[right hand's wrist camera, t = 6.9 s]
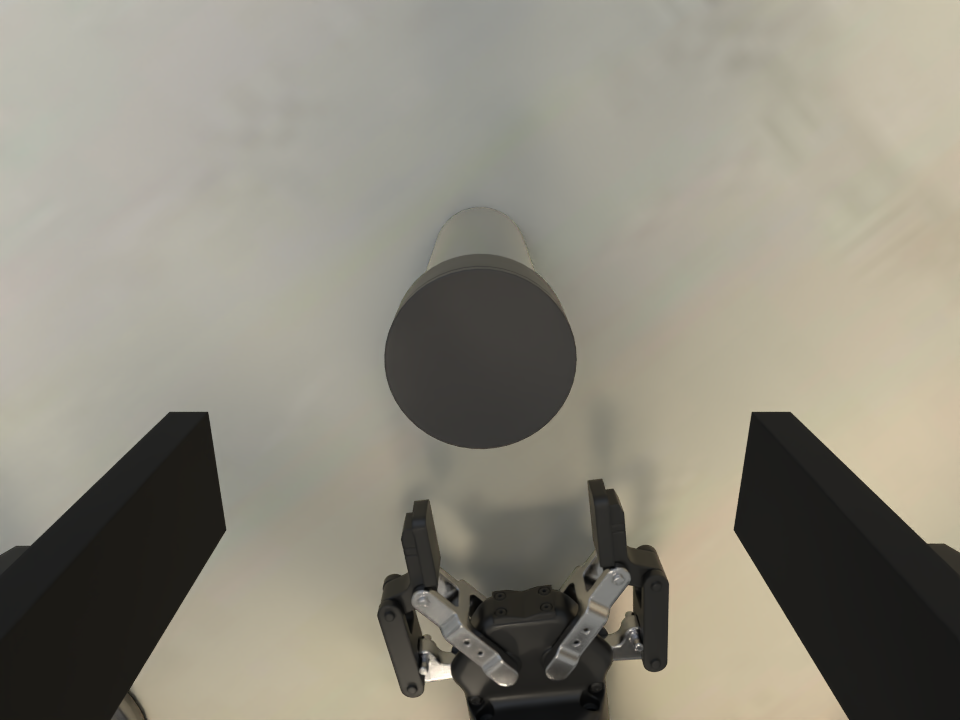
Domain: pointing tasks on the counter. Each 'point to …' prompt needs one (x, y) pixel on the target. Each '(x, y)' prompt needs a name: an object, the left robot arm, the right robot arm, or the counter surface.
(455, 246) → the grey cylinder
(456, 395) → the lid
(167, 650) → the counter surface
